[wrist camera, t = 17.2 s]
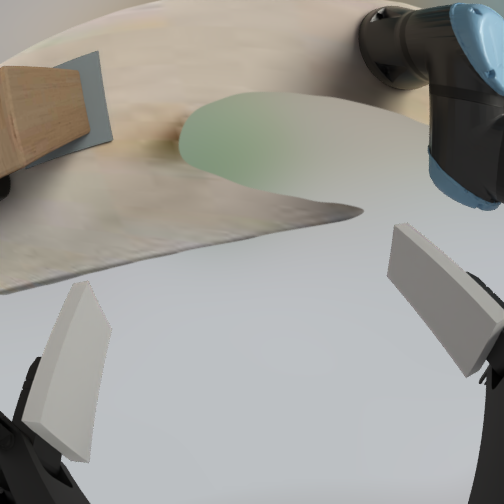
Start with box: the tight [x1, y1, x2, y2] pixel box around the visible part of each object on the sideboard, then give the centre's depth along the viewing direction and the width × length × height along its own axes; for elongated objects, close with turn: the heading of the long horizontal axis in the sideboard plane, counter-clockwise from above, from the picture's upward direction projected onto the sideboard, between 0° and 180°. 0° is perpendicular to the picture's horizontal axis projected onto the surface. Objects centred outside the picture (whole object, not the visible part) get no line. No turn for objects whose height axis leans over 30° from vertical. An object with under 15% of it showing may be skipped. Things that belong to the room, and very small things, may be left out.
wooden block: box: [0, 66, 90, 178], centre depth 25 cm, size 10×10×20 cm
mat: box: [25, 51, 113, 169], centre depth 34 cm, size 16×14×1 cm
